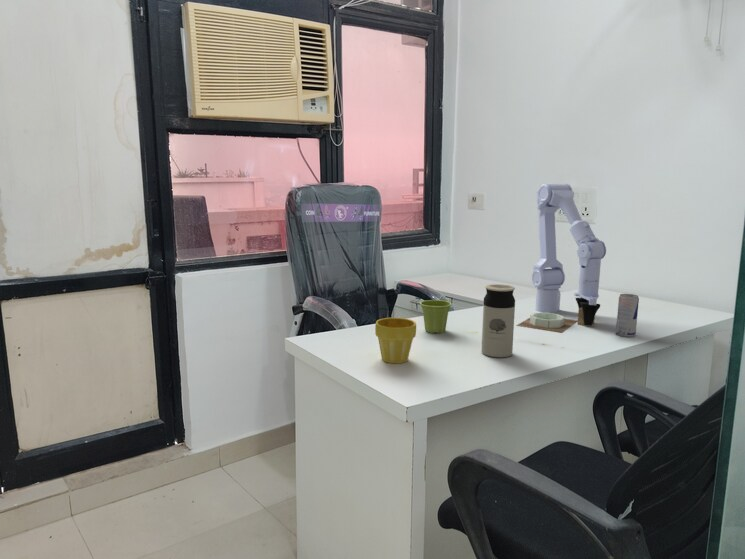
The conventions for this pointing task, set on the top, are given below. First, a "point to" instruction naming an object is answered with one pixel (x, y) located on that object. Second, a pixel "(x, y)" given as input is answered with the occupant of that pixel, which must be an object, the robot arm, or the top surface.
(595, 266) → the robot arm
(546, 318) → the octagonal green bowl
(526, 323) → the walnut board
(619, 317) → the energy drink
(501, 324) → the travel mug
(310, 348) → the top surface
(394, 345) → the plant pot
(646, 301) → the top surface
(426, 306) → the plant pot
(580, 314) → the brown wooden block
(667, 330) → the top surface
